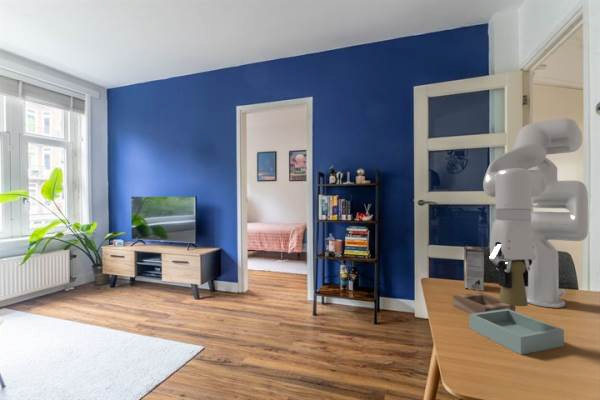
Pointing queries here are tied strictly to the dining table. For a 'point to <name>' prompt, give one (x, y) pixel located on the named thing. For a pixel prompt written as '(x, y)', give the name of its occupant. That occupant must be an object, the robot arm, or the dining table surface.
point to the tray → (516, 331)
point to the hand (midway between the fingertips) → (513, 285)
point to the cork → (515, 286)
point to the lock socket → (479, 303)
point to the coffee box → (474, 268)
